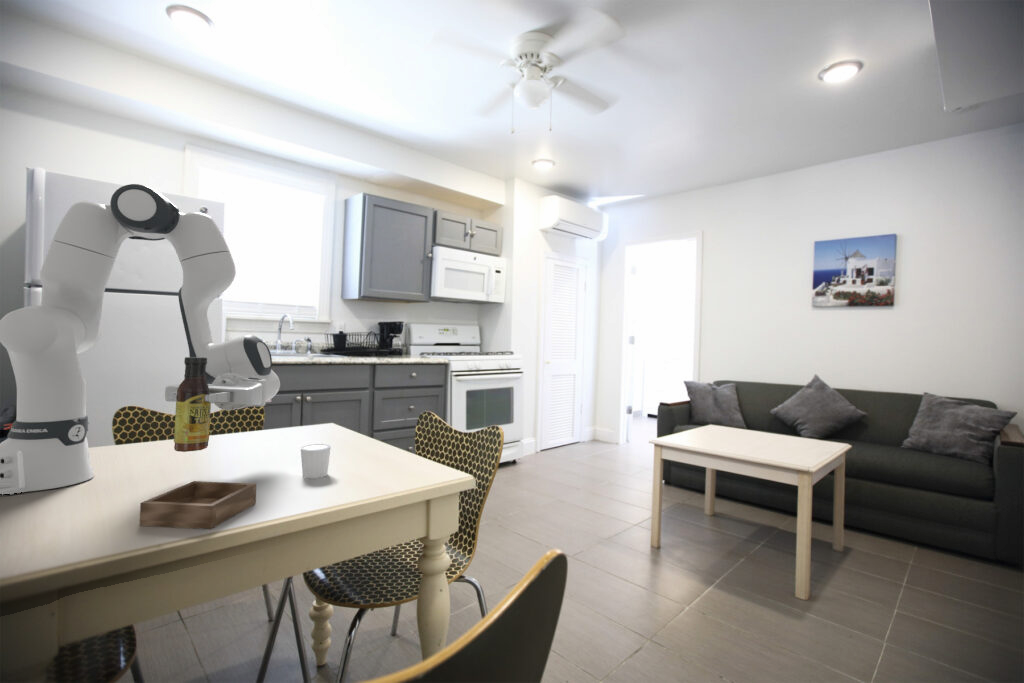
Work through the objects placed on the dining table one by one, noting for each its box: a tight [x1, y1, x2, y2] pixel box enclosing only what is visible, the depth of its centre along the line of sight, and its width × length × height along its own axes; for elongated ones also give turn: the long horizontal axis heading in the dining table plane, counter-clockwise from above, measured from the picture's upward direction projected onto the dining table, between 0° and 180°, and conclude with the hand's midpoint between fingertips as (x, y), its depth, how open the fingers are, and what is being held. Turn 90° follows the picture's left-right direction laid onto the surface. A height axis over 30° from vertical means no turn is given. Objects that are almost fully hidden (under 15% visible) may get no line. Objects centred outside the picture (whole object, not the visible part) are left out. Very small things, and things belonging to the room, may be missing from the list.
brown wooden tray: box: [139, 480, 257, 530], centre depth 88 cm, size 13×13×4 cm
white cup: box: [300, 443, 331, 479], centre depth 115 cm, size 7×7×7 cm
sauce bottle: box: [173, 356, 212, 453], centre depth 101 cm, size 7×6×20 cm
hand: (190, 398), depth 100 cm, fingers closed on sauce bottle, 6 cm apart
